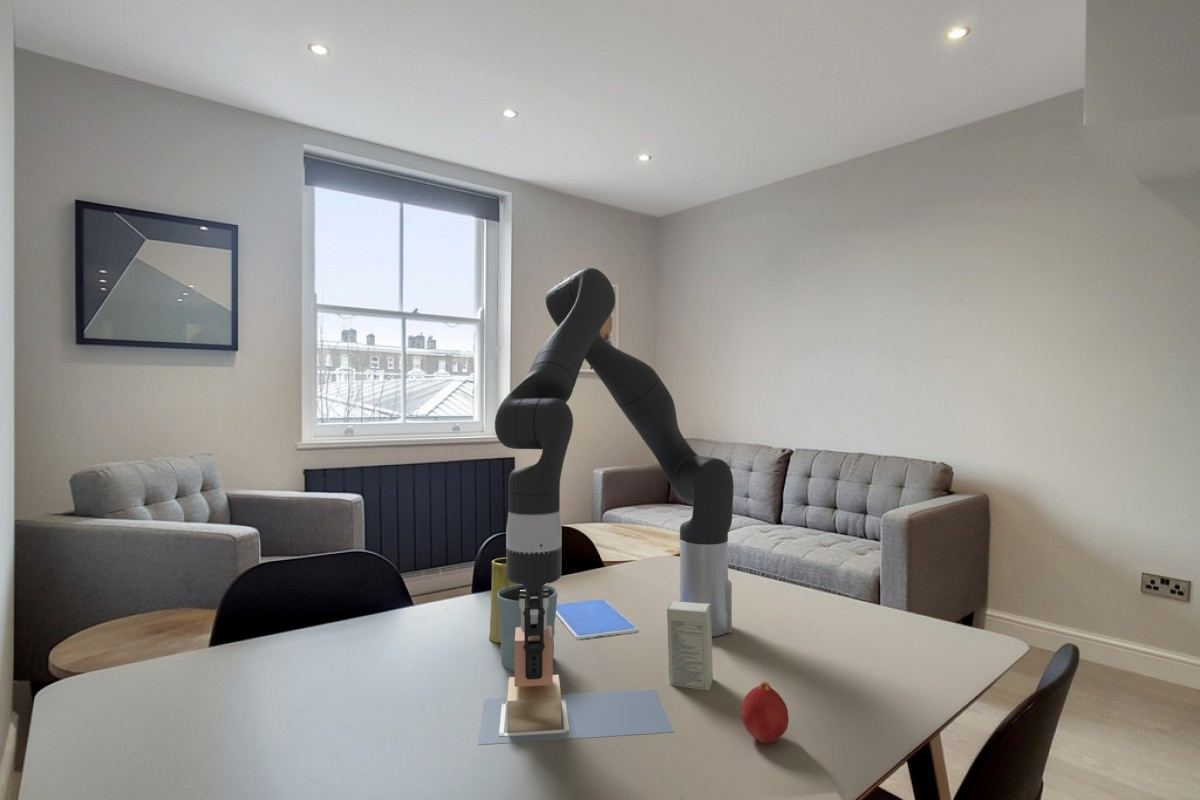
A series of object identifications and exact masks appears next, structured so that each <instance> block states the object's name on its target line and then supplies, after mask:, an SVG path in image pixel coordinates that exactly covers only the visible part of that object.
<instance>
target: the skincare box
mask: <svg viewBox="0 0 1200 800" xmlns="http://www.w3.org/2000/svg"><path fill="white" fill-rule="evenodd" d="M666 615H667V619H666V620H667V621H666V622H667V649H668V650H667V651H668V652H667V653H668V654H667V656H668V681H669V682H668V683H669V685H670V686H675V687H681V688H687V689H695V690H702V691H710V689H711V686H712V684H713V680H714V677H713V676H714V675H713V673H714V672H713V641H712V640H713V636H712V631H711V604H706V603H694V602H681V601H680V600H679V601H677V600H673V601H672V602H671V603H670V604H669V605H668V606H667V608H666Z"/></svg>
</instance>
